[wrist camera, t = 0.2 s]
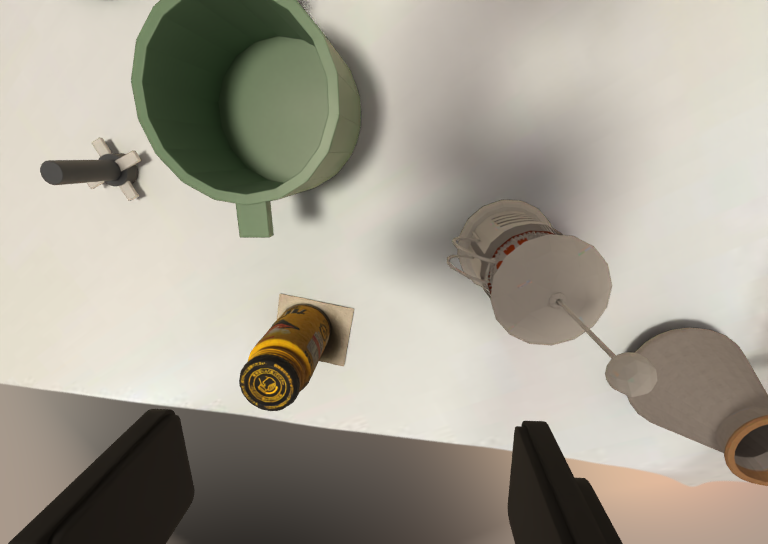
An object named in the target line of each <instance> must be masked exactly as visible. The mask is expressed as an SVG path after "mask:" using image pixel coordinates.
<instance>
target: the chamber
mask: <svg viewBox="0 0 768 544" xmlns="http://www.w3.org/2000/svg"><path fill="white" fill-rule="evenodd" d="M136 40H137V41H136V45H135V53H134V61H133V69H132V77H131V83H132V89H133V94H134V99H135V105H136V110H137V116H138V119H139V122H140V124H141V126H142V128H143V130H144V132H145V134H146V136H147V138H148V140H149V142H150V144H151V145H152V147H153V149H154V151H155V153H156V154H157V156H158V157H159V158H160V159H161V160H162V161H163V162H164V163H165V164H166V165H167V166H168V167H169V168H170V169H171V170H172V172H173V173H174V174H175V175H176V176H177V177H178V178H179V179H180V180H181V181H182V182H183V183H185V184H187V185H189V186H191V187H192V188H194V189H196V190H198V191H200V192H201V193H203V194H205V195H207V196H209V197H210V198H212V199H214V200H219V201H225V202H231V203H236V209H237V217H238V226H239V234H240V237H271V236H273V235H274V234H273V224H272V214H271V204H270V201H273V200H278V199H281V198H284V197H288V196H291V195H294V194H297V193H300V192H303V191H306V190H309V189H312V188H315V187H317V186H319V185H321V184H322V183H324V182H326V181H327V180H329V179H330V178H332V177H333V176H335V175H336V174H337V173H338V172H339V171H340V170H341V169H342V167H343V166H344V165H345V164H346V162H347V161H348V159H349V158H350V156H351V155H352V153H353V150H354V148H355V146H356V143H357V140H358V136H359V132H360V128H361V127H360V126H361V105H360V96H359V93H358V90H357V87H356V84H355V81H354V79H353V77H352V74H351V71H350V69H349V67H348V66H347V65H346V63H345V62H344V61H343V59H342V58H341V57H340V55H339V54H338V53H337V51H336V50H335V49H334V47H333V46H332V45H331V43H330V42H329V41H328V39H327V38H326V37H325V35H324V34H323V32H322V31H321V30H320V29H319V27H318V26H317V25H316V24H315V22H314V21H313V20H312V19H311V18H310V16H309V15H308V14H307V13H306V11H305V10H304V9H303V8H302V6H301V5H300V4H299V3H298V1H297V0H160V1H159V2H158V3H157V4H155V6H153V8H152V10H151V12H150V14H149V16H148V18H147V20H146V22H145V24H144V26H143V28H142V30H141V32H140V33H139V35H138V37H137V39H136Z"/></svg>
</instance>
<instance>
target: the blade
mask: <svg viewBox="0 0 768 544" xmlns="http://www.w3.org/2000/svg"><path fill="white" fill-rule="evenodd" d="M92 145H93V146H94V148H95V149H96V151H97V152H98V154H99V155H100V158H99V160H55V161H45V162H44V163H42V165H41V168H40V172H41V175H42V177H43V179H44V180H45V181H46V182H48V183H49V184H52V185H62V184H75V183H87V184H88V185H89V187H90V188H91V189H94V188H96V187H97V186H99V185H101V184H102V183H104V182H105V183H107V184H109V185H111V186H119V187H120V188H121V190H122V191H123V193H124V194H125V196H126V198H127V199H128V201H131V200H133V199H135V198H136V197H138V196H139V195H138V194H137V192H136V190H135V189H134V187H133V186H132V183H134V182H135V180H136V179H137V176H138V169H137V166H136V164H137V163H139V162H140V161H141V159H140V158H139V156H138V154H137V153H136V151H131V152H129V153H128V154H126V155H125V154H112V152H111V151H110V149H109V148H108V146H107V145H106V143H105V141H104V140H103V138H98V139H96V140H95V141H93V142H92Z"/></svg>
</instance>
